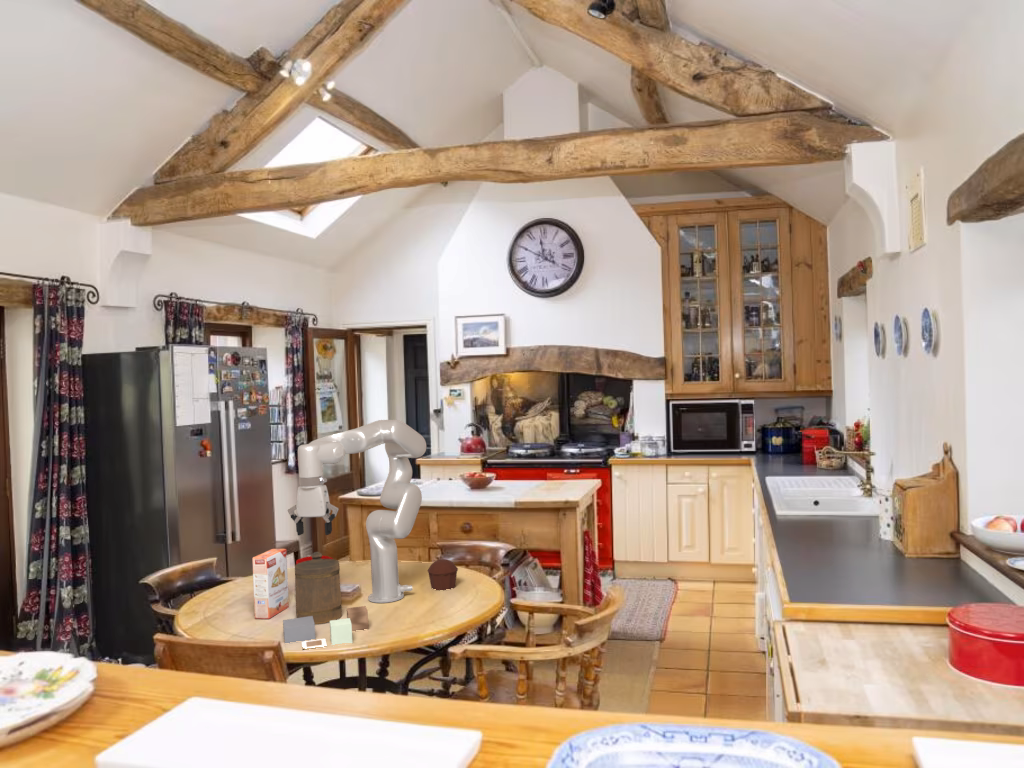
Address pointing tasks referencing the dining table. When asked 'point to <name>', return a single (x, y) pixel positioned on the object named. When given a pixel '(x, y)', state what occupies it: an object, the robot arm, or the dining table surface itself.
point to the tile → (314, 643)
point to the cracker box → (270, 583)
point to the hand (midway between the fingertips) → (314, 534)
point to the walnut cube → (358, 617)
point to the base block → (299, 629)
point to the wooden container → (318, 589)
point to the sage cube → (341, 631)
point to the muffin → (442, 574)
